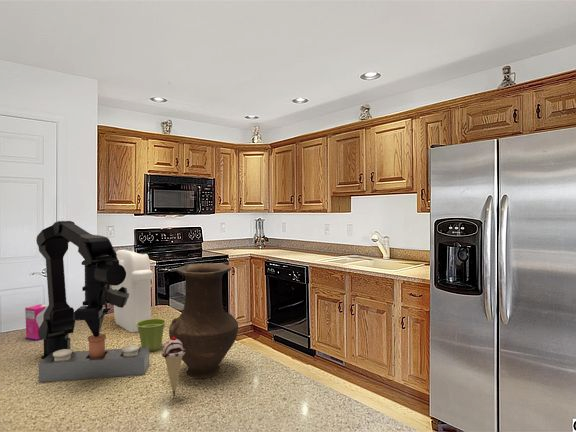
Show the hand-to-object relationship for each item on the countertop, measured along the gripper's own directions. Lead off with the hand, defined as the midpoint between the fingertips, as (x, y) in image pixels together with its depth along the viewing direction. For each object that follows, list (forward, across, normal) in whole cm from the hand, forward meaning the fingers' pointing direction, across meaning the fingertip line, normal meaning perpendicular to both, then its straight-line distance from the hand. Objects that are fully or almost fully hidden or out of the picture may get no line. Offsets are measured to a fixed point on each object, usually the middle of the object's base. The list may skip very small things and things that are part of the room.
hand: (96, 336), depth 110 cm
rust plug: (+6, 0, 0) cm, 6 cm away
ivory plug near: (+10, 0, +9) cm, 14 cm away
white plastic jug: (+11, +44, +1) cm, 45 cm away
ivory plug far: (+10, 0, -9) cm, 14 cm away
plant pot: (+10, +17, -12) cm, 23 cm away
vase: (+10, -5, -30) cm, 32 cm away
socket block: (+10, 0, 0) cm, 10 cm away
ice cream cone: (+10, -19, -23) cm, 32 cm away
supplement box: (+11, +36, +30) cm, 48 cm away
